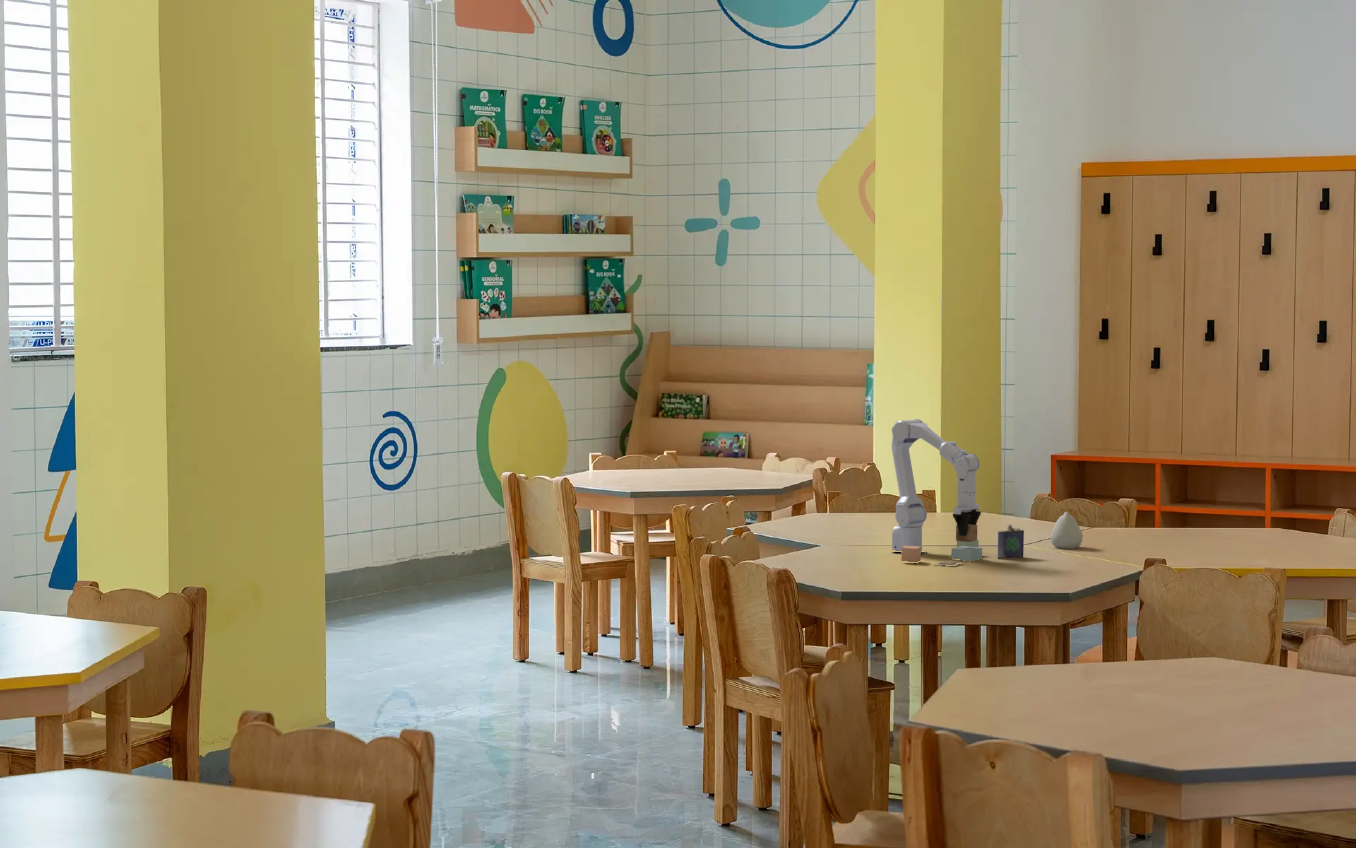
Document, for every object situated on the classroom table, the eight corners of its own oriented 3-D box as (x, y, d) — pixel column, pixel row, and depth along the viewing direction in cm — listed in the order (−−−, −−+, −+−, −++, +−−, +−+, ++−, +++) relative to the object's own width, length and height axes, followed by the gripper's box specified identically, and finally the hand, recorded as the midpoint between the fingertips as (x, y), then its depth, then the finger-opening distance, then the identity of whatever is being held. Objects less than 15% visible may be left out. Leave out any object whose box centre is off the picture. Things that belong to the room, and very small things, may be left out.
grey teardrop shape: (1083, 550, 482) (1084, 514, 482) (1051, 549, 484) (1051, 513, 484) (1081, 545, 492) (1081, 510, 492) (1049, 545, 495) (1050, 510, 494)
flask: (1000, 559, 464) (1000, 526, 463) (995, 558, 466) (995, 525, 466) (1025, 557, 467) (1025, 524, 466) (1020, 556, 469) (1020, 523, 469)
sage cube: (956, 555, 473) (956, 540, 473) (965, 554, 477) (965, 539, 476) (969, 557, 470) (969, 541, 469) (978, 555, 473) (978, 540, 473)
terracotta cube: (901, 563, 457) (901, 547, 457) (905, 561, 462) (905, 545, 462) (917, 564, 456) (917, 548, 455) (920, 562, 460) (920, 546, 460)
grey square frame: (933, 565, 453) (933, 563, 453) (943, 562, 458) (943, 560, 458) (953, 567, 448) (953, 564, 448) (963, 564, 454) (963, 562, 454)
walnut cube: (955, 540, 463) (956, 525, 463) (962, 539, 467) (963, 523, 467) (970, 542, 460) (970, 526, 460) (977, 540, 464) (977, 524, 464)
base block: (951, 560, 463) (951, 548, 463) (963, 558, 469) (962, 546, 468) (970, 562, 459) (970, 550, 459) (982, 560, 464) (982, 547, 464)
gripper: (968, 495, 454) (968, 538, 455) (988, 491, 466) (988, 533, 467) (947, 493, 459) (947, 536, 459) (968, 489, 470) (968, 531, 471)
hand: (966, 534), depth 463 cm, fingers closed on walnut cube, 5 cm apart
